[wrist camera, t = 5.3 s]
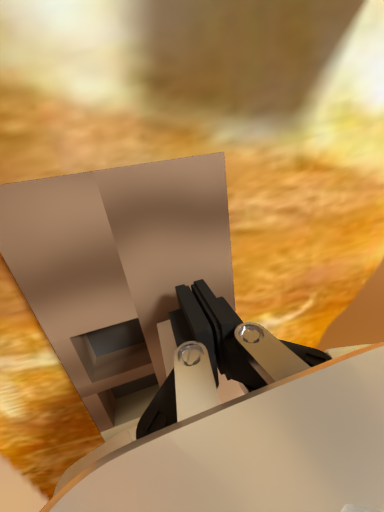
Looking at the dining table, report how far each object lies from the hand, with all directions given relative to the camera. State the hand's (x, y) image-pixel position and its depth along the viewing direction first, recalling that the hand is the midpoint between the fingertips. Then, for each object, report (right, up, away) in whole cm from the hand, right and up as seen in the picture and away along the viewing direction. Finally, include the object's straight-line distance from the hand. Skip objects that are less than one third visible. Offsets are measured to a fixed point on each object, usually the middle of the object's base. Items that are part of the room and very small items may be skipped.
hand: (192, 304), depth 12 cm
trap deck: (-3, -2, +4) cm, 6 cm away
